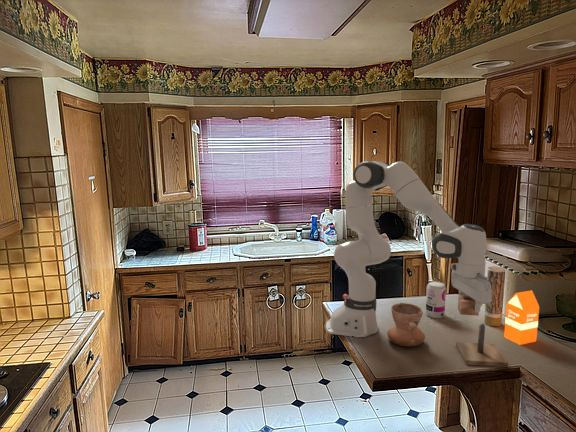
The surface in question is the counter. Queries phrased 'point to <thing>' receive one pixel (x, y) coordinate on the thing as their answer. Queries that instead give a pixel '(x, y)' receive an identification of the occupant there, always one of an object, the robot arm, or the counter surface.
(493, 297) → the paper tube
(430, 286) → the supplement can
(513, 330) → the orange juice
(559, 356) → the counter surface
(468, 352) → the peg stand
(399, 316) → the ceramic jug
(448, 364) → the counter surface
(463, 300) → the bead
